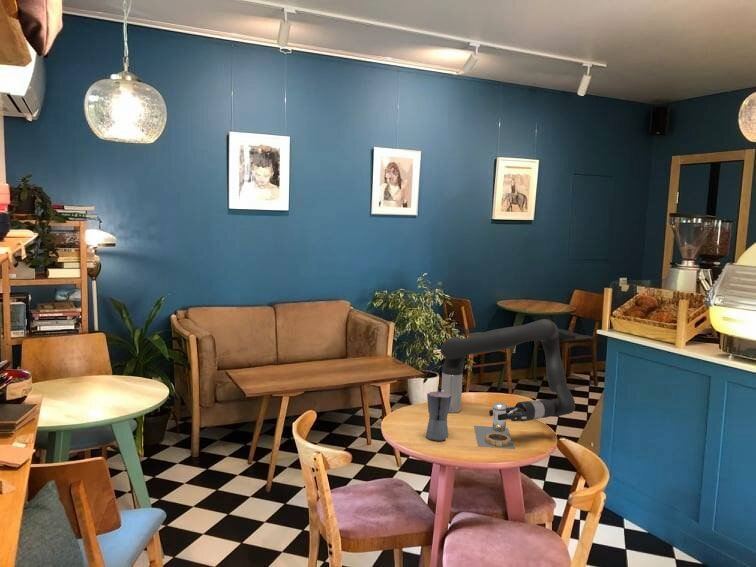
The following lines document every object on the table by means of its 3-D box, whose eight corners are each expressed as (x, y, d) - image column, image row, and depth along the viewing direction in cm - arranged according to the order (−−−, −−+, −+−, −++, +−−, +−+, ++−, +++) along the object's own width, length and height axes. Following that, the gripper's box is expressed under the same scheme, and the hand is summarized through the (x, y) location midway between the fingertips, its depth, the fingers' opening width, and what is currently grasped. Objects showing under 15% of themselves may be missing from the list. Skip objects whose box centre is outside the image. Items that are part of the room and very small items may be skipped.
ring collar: (486, 445, 223) (486, 440, 223) (484, 437, 232) (484, 432, 232) (511, 447, 222) (511, 442, 222) (508, 438, 231) (508, 433, 231)
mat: (477, 449, 222) (477, 446, 222) (473, 427, 246) (473, 425, 246) (515, 451, 221) (515, 449, 221) (507, 430, 245) (507, 427, 244)
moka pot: (447, 431, 240) (450, 383, 238) (451, 445, 225) (454, 394, 223) (424, 430, 240) (426, 382, 238) (426, 444, 225) (428, 393, 223)
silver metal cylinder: (493, 431, 224) (493, 406, 223) (491, 427, 229) (491, 402, 228) (507, 432, 224) (507, 406, 223) (504, 427, 229) (505, 402, 228)
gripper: (518, 396, 238) (483, 400, 231) (542, 406, 225) (505, 411, 218) (517, 414, 239) (482, 419, 232) (541, 425, 226) (505, 430, 219)
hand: (494, 415), depth 225 cm, fingers closed on silver metal cylinder, 5 cm apart
